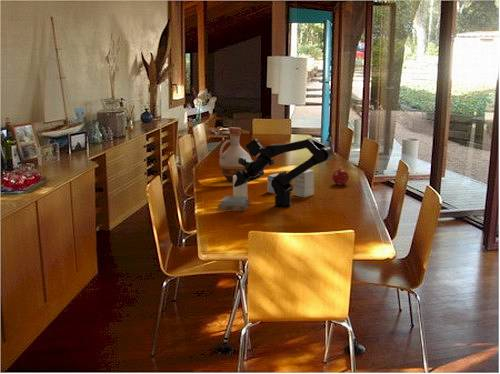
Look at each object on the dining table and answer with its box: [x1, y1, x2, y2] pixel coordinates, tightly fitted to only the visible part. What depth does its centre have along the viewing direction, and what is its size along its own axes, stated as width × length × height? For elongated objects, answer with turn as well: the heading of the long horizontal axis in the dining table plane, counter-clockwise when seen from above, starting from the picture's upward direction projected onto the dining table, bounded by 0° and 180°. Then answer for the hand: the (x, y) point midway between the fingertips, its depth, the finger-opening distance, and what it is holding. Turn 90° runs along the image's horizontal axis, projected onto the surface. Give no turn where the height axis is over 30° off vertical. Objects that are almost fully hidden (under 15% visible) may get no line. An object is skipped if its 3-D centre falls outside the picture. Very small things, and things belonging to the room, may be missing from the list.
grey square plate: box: [217, 199, 251, 212], centre depth 246 cm, size 12×12×2 cm
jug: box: [218, 126, 252, 184], centre depth 293 cm, size 20×18×30 cm
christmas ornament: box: [332, 166, 350, 186], centre depth 285 cm, size 9×9×10 cm
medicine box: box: [267, 172, 279, 194], centre depth 273 cm, size 8×4×9 cm, turn 141°
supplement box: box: [293, 168, 315, 198], centre depth 264 cm, size 7×7×13 cm
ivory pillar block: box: [232, 175, 248, 200], centre depth 257 cm, size 5×5×12 cm
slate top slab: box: [220, 195, 248, 206], centre depth 246 cm, size 10×10×2 cm
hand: (239, 184), depth 257 cm, fingers open, 9 cm apart
